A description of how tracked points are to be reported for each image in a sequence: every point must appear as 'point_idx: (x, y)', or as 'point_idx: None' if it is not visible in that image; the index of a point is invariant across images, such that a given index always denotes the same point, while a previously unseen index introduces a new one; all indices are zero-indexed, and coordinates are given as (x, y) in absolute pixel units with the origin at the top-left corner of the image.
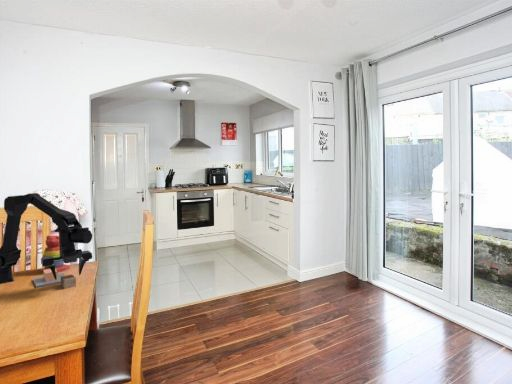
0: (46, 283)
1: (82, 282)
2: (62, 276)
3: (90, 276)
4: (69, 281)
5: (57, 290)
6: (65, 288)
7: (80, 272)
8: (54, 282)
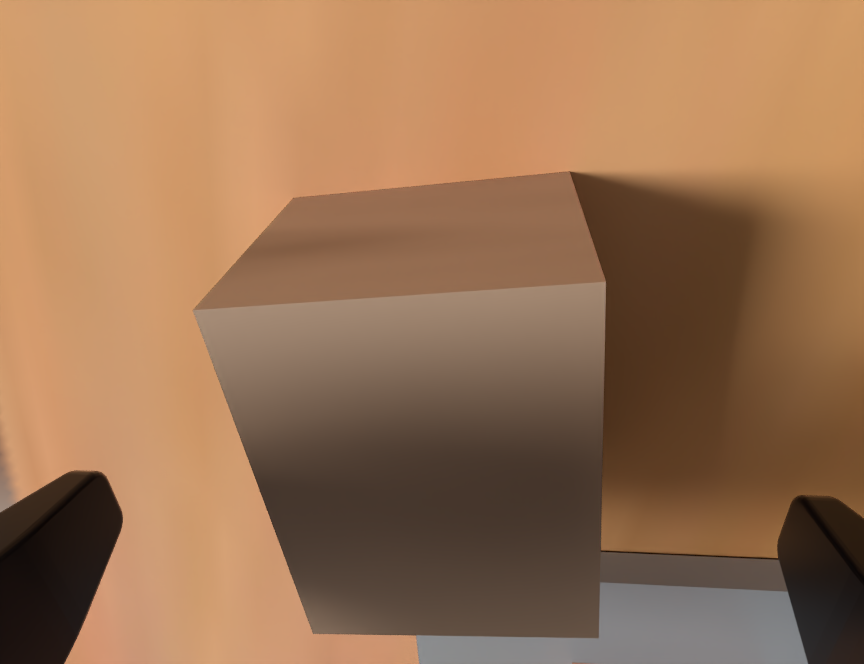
0: (791, 619)
1: (165, 364)
2: (547, 625)
3: None
4: (424, 252)
5: (743, 167)
6: (545, 175)
7: (1, 525)
8: (657, 589)
